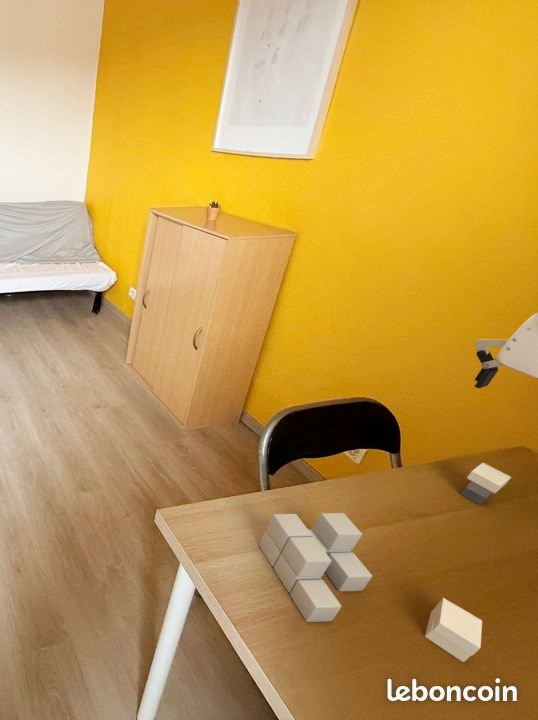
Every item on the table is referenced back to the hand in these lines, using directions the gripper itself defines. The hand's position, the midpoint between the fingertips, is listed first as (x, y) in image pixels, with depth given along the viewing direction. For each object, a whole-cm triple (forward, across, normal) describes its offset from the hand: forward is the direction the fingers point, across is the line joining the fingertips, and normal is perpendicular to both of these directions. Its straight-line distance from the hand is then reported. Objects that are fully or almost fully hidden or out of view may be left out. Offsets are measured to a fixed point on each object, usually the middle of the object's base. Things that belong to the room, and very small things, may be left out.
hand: (515, 401), depth 75 cm
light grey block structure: (+21, -4, +47) cm, 51 cm away
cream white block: (+17, -3, +1) cm, 17 cm away
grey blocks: (+21, -3, +1) cm, 21 cm away
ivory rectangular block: (+21, -16, +37) cm, 45 cm away
